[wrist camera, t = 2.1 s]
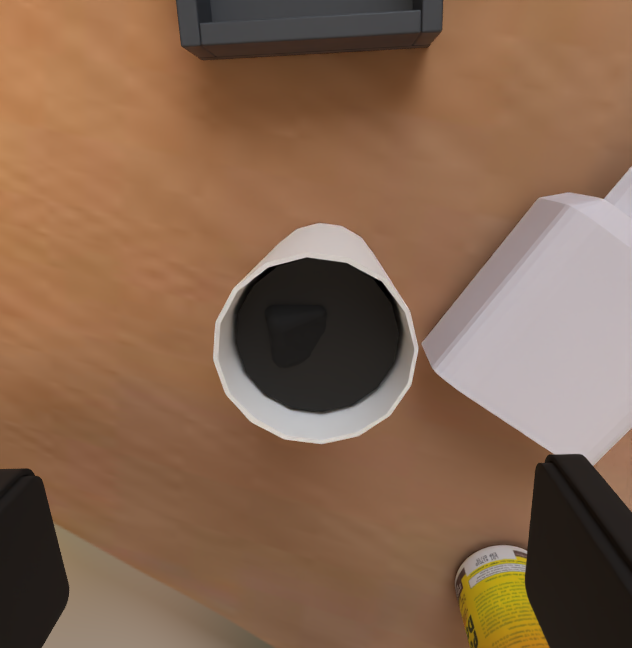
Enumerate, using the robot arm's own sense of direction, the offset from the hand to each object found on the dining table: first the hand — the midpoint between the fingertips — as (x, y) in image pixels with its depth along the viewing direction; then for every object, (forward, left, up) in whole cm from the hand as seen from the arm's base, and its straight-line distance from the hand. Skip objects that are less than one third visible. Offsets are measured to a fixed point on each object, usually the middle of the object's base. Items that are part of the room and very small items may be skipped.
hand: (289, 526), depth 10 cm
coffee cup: (0, -1, -18) cm, 18 cm away
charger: (-13, -1, -18) cm, 22 cm away
